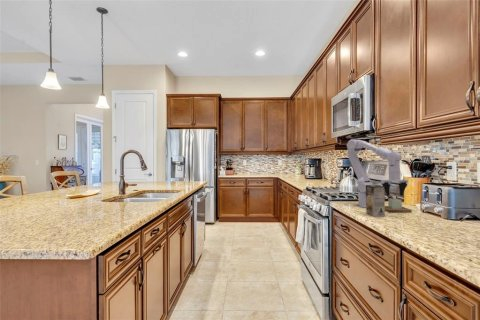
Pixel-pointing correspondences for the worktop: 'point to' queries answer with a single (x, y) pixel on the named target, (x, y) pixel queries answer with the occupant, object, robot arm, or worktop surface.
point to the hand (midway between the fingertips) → (394, 195)
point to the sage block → (395, 203)
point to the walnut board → (397, 210)
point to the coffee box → (375, 200)
